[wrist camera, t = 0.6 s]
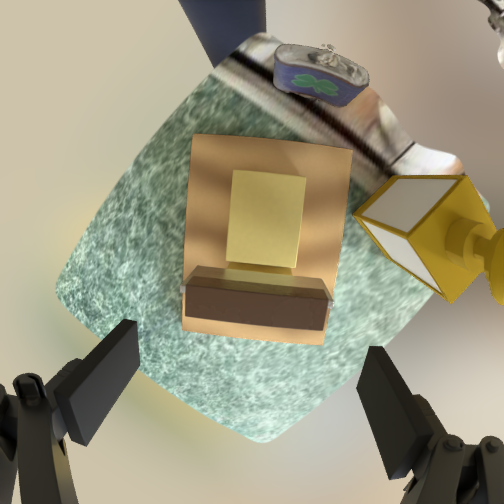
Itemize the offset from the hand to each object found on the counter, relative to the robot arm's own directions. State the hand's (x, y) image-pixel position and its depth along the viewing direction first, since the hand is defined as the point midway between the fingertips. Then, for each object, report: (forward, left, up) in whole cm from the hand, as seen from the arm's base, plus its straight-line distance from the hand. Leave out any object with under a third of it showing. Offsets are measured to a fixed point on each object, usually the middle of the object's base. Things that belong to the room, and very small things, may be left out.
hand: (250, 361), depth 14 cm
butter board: (-2, 0, -22) cm, 22 cm away
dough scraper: (0, 0, -15) cm, 15 cm away
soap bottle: (-9, +17, -23) cm, 30 cm away
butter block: (-5, 0, -21) cm, 21 cm away
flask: (-21, +4, -23) cm, 31 cm away
